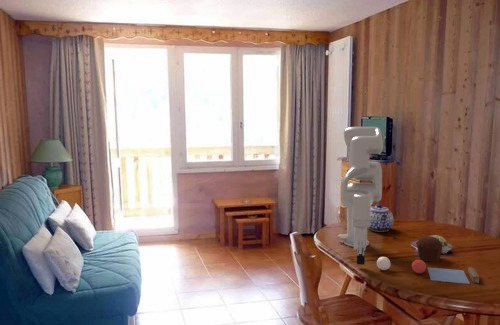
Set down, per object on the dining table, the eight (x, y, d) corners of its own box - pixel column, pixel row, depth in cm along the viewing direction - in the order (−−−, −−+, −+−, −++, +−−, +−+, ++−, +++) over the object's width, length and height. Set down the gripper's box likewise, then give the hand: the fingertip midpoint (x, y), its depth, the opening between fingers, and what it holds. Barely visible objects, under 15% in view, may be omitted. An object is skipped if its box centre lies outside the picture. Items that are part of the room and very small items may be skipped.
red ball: (411, 274, 171) (412, 261, 171) (411, 269, 177) (411, 257, 176) (426, 276, 170) (427, 262, 169) (425, 271, 175) (425, 258, 174)
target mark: (430, 280, 165) (430, 279, 165) (427, 267, 179) (427, 267, 179) (469, 284, 161) (470, 283, 161) (463, 270, 174) (463, 270, 174)
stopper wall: (473, 282, 163) (473, 276, 162) (468, 273, 172) (468, 267, 172) (478, 283, 162) (479, 276, 162) (473, 273, 171) (473, 267, 171)
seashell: (453, 252, 195) (444, 234, 194) (433, 260, 197) (424, 242, 196) (446, 244, 205) (437, 227, 204) (428, 252, 207) (419, 235, 206)
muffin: (441, 264, 182) (441, 242, 181) (414, 260, 188) (414, 238, 187) (443, 256, 193) (444, 235, 192) (417, 252, 198) (418, 232, 197)
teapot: (362, 223, 251) (362, 199, 249) (388, 223, 249) (389, 199, 247) (368, 235, 226) (369, 208, 224) (398, 236, 224) (398, 209, 222)
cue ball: (376, 271, 176) (376, 258, 175) (376, 266, 181) (376, 254, 180) (390, 272, 174) (390, 259, 173) (390, 267, 179) (390, 255, 179)
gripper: (353, 217, 186) (352, 257, 188) (351, 226, 172) (350, 269, 174) (370, 218, 184) (370, 258, 186) (369, 227, 170) (369, 270, 172)
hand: (360, 263), depth 180 cm, fingers closed
